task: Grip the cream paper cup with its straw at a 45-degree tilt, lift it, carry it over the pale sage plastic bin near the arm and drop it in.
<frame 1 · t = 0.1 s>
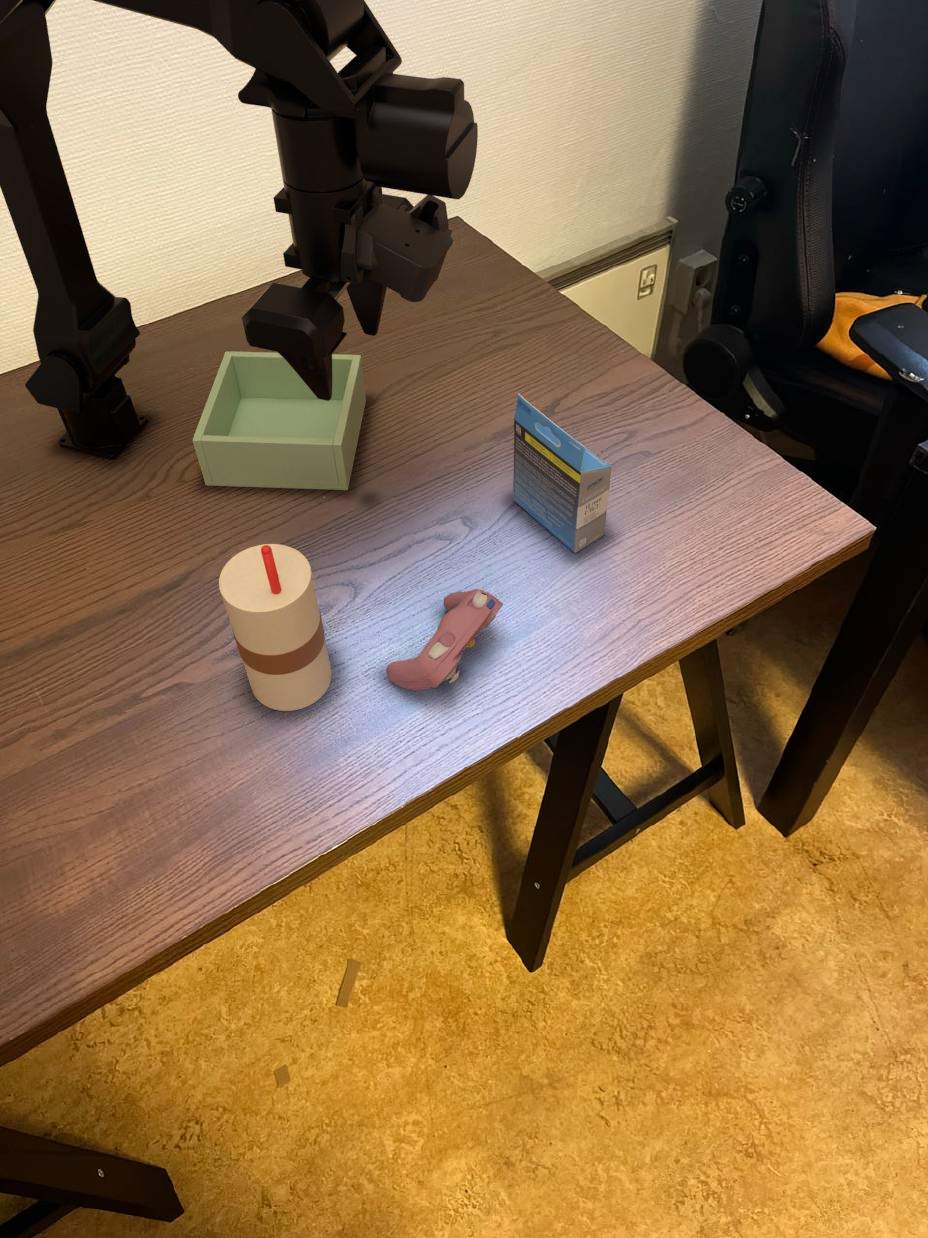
hand: (348, 365, 76), 15 cm above the table, tool pointing down, fingers open, 9 cm apart
straw cup: (291, 677, 75), on the table
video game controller: (447, 658, 76), on the table
label tape box: (556, 520, 86), on the table
bin: (289, 440, 93), on the table
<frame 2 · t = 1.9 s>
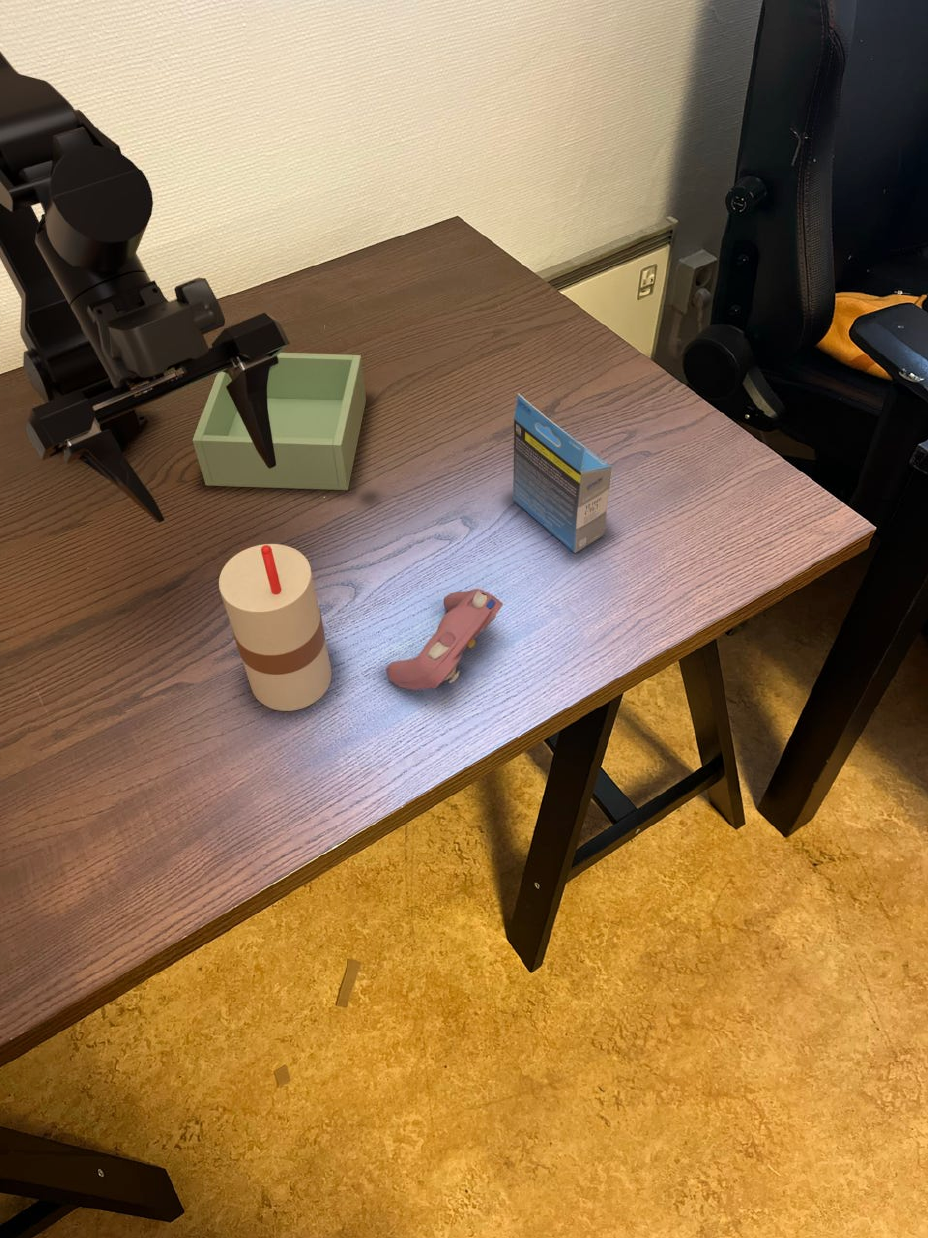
hand: (218, 493, 69), 13 cm above the table, tool tilted 45°, fingers open, 9 cm apart
nothing on the table moved.
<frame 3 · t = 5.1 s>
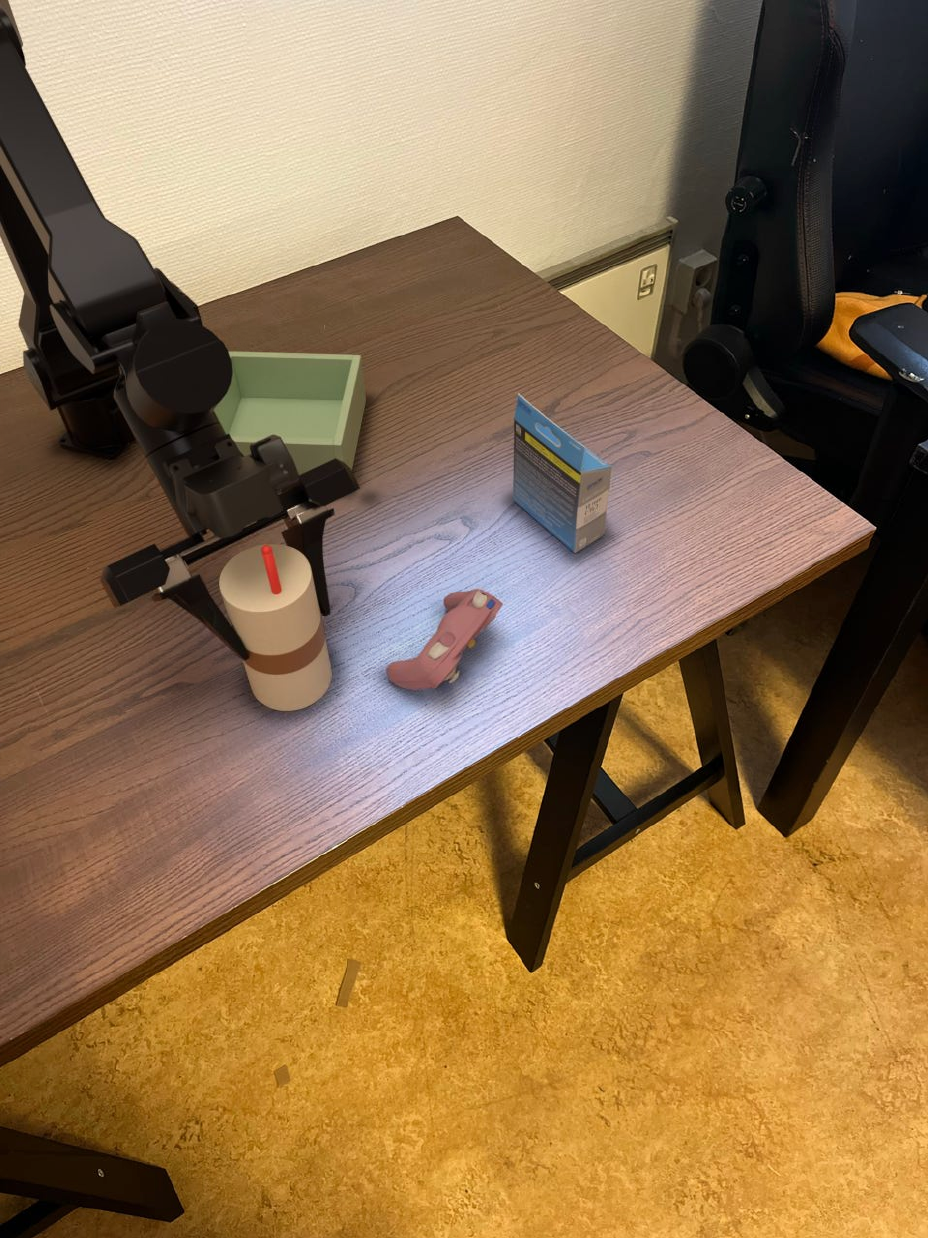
hand: (287, 637, 69), 7 cm above the table, tool tilted 45°, fingers closed on straw cup, 6 cm apart
straw cup: (291, 677, 75), on the table, touching gripper
everything else where it was.
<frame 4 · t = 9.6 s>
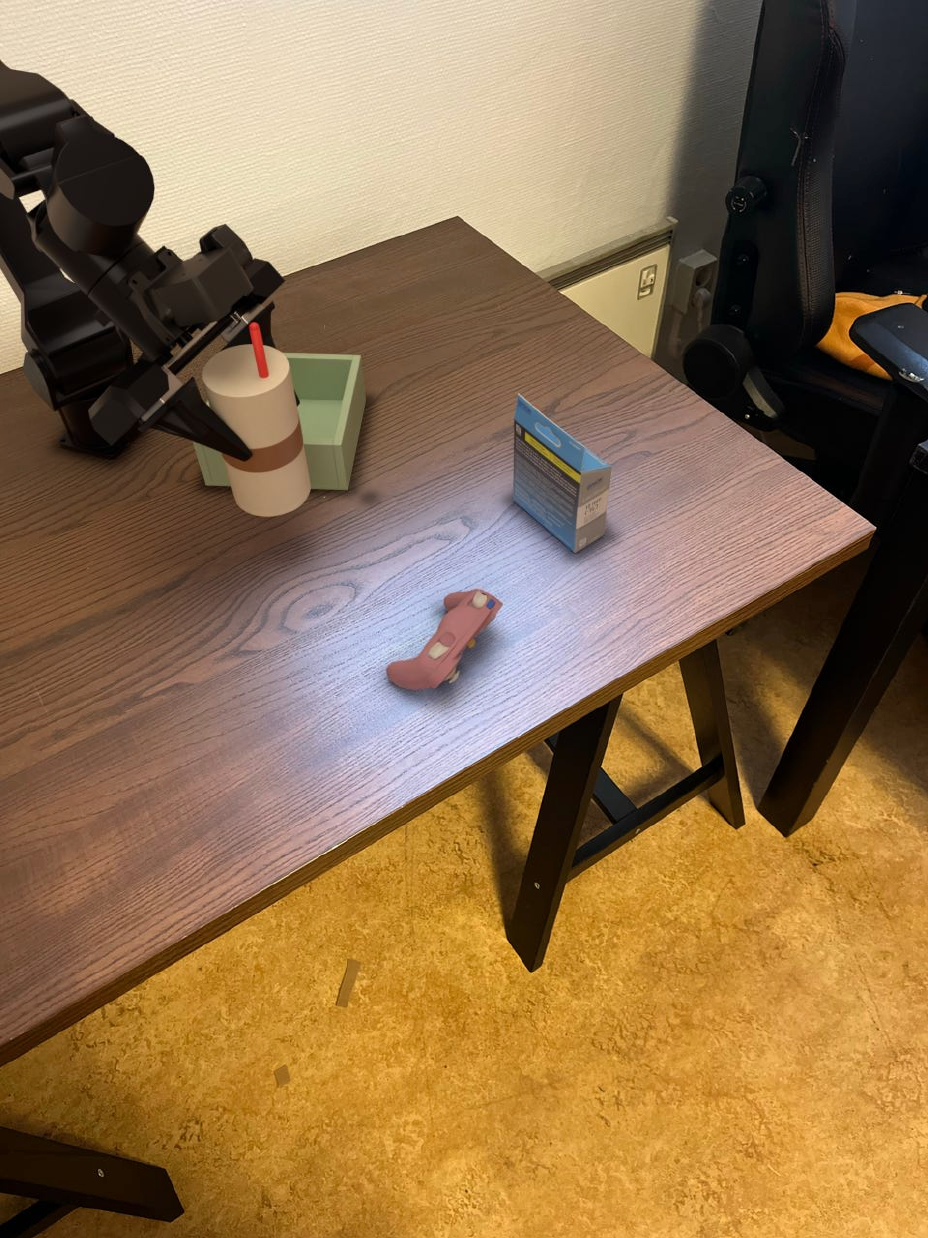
hand: (273, 432, 73), 13 cm above the table, tool tilted 45°, fingers closed on straw cup, 6 cm apart
straw cup: (272, 489, 79), point 7 cm above the table, touching gripper
everything else where it was.
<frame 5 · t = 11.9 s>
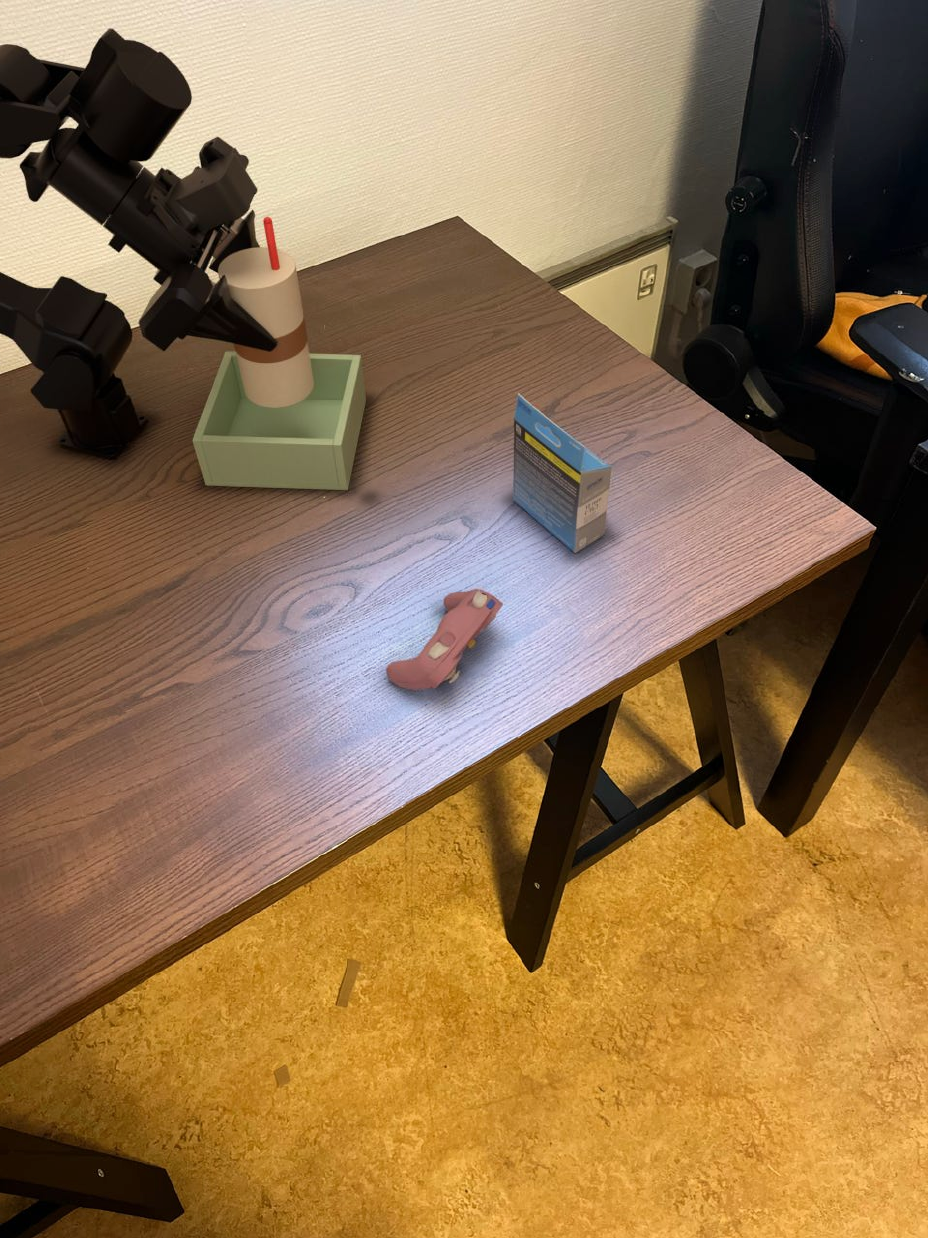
hand: (282, 324, 82), 14 cm above the table, tool tilted 45°, fingers closed on straw cup, 6 cm apart
straw cup: (279, 386, 87), point 7 cm above the table, touching gripper
everything else where it was.
when the fingers open (10 cm above the table, at t = 13.9 s): straw cup drops 2 cm, resting on bin.
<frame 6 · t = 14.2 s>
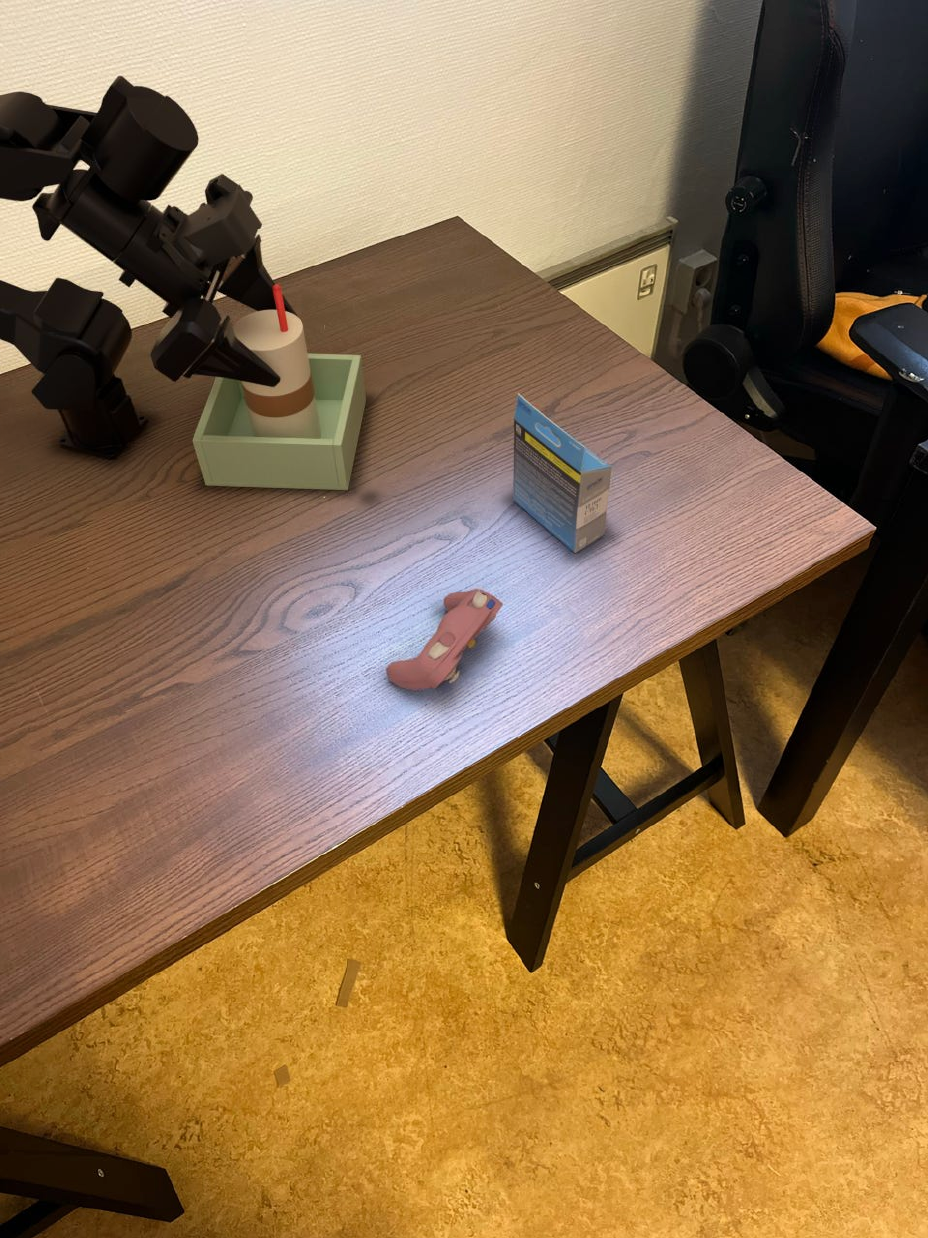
hand: (287, 351, 85), 10 cm above the table, tool tilted 45°, fingers open, 9 cm apart
straw cup: (288, 436, 93), point 1 cm above the table, touching bin
everything else where it was.
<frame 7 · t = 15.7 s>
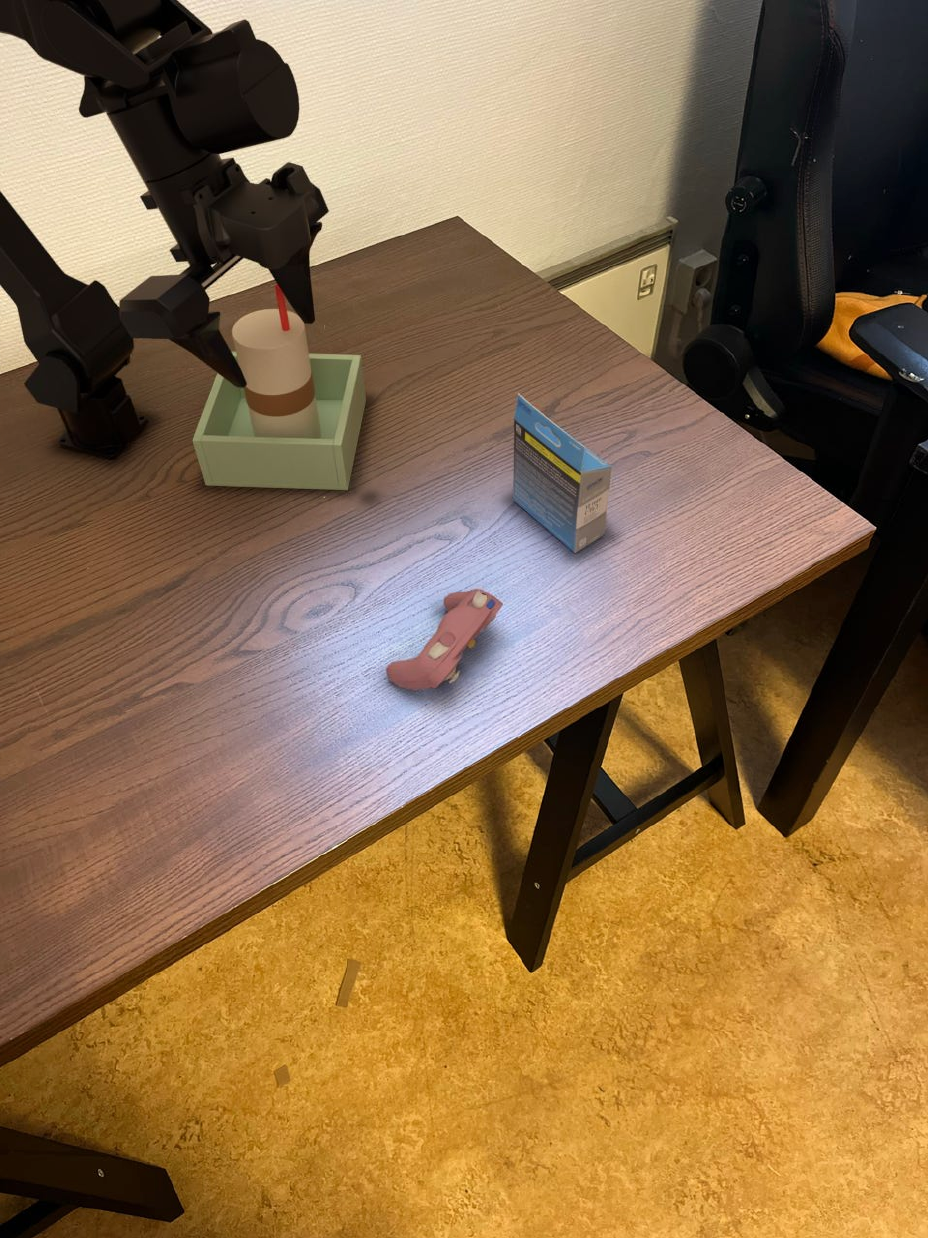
hand: (277, 353, 77), 15 cm above the table, tool tilted 20°, fingers open, 9 cm apart
nothing on the table moved.
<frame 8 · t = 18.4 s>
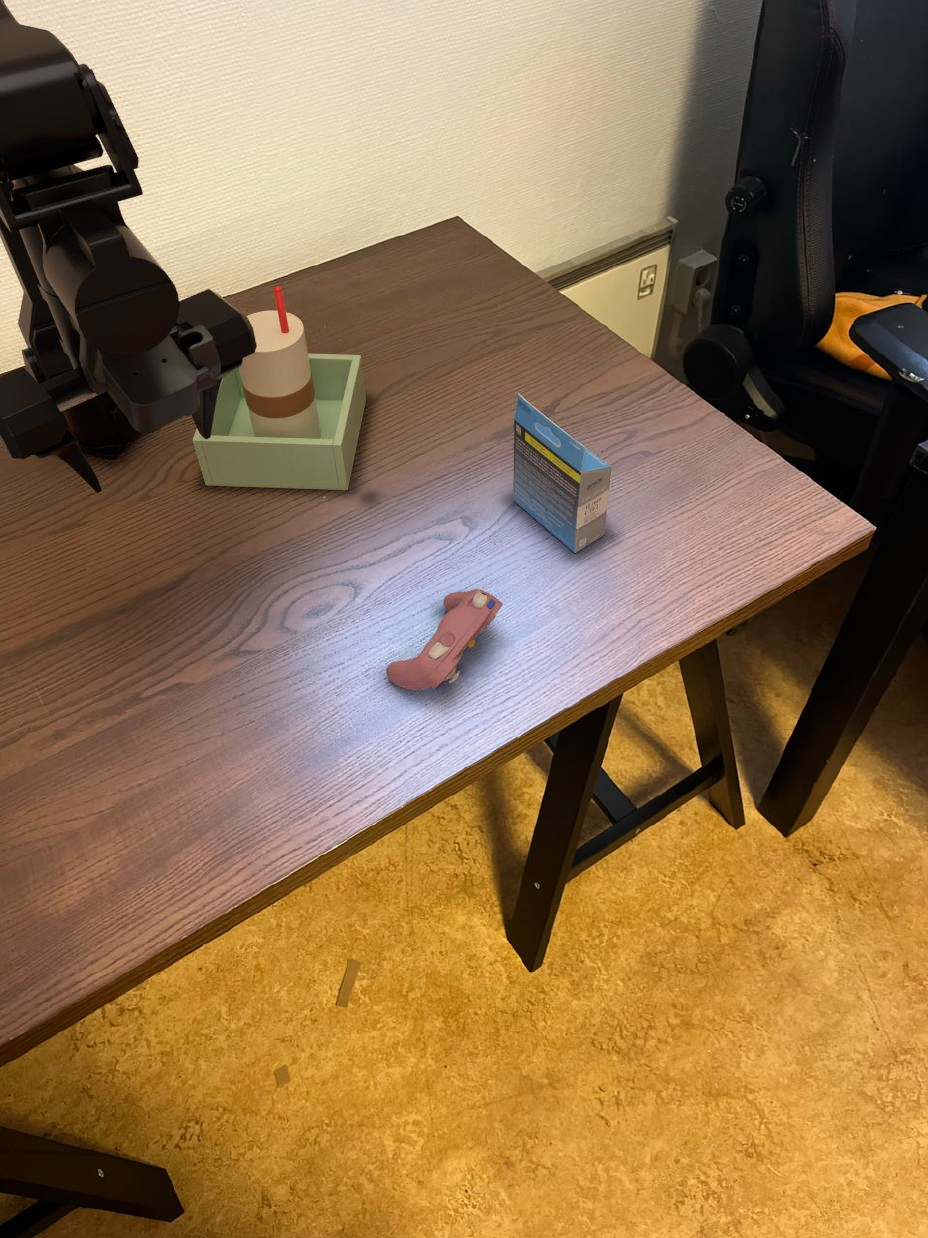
hand: (152, 462, 72), 13 cm above the table, tool pointing down, fingers open, 9 cm apart
nothing on the table moved.
at the end: straw cup inside the target area in the bin (0.1 cm from its centre), point 0.5 cm above the bin's base; the gripper is holding nothing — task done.
